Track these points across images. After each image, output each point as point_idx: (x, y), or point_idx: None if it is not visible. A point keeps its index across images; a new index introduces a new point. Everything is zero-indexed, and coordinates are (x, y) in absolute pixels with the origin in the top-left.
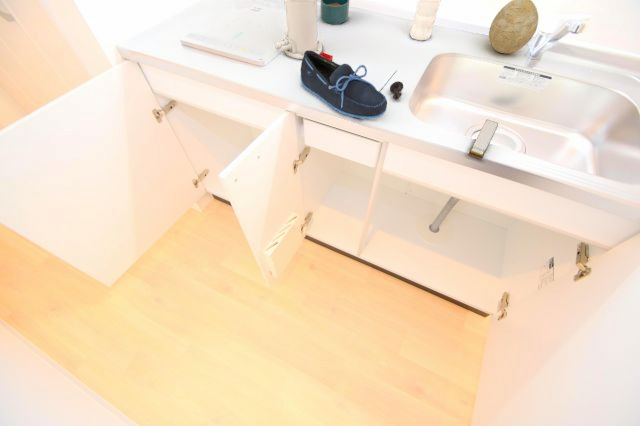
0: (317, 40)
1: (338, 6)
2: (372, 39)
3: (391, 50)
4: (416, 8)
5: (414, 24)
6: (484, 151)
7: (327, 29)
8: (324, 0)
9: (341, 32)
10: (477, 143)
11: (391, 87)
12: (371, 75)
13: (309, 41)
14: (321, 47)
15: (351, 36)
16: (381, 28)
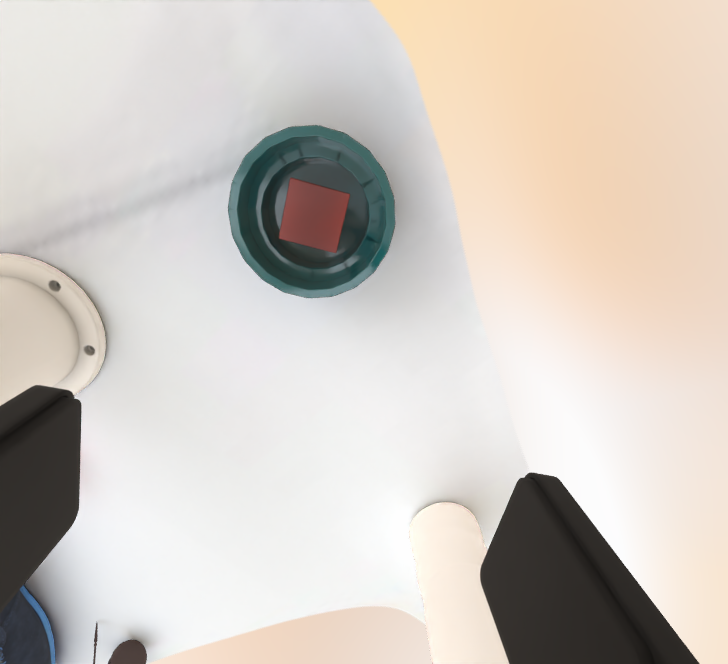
0: (97, 338)
1: (274, 286)
2: (305, 442)
3: (297, 522)
4: (441, 582)
5: (420, 551)
6: None
7: (221, 268)
8: (296, 140)
9: (252, 329)
10: None
11: (115, 656)
12: (141, 567)
13: None
14: (78, 389)
15: (261, 379)
16: (399, 411)
